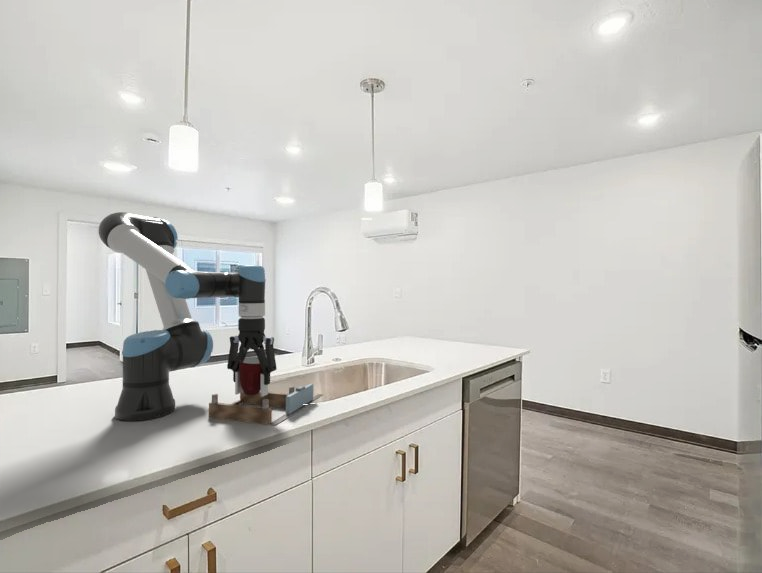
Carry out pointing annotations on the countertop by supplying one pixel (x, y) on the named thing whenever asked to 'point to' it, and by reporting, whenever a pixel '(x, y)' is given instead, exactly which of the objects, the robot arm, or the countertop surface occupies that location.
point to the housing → (253, 408)
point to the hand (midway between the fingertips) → (251, 394)
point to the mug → (250, 375)
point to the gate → (299, 398)
